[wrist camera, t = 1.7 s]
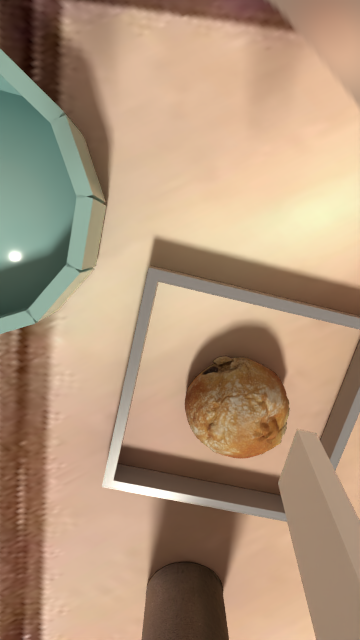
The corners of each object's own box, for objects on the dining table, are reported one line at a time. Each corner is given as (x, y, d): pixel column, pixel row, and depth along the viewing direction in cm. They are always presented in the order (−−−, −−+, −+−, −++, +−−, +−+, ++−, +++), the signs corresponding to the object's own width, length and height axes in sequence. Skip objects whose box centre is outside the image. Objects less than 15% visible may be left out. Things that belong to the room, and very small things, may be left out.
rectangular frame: (302, 507, 36) (311, 526, 33) (107, 469, 34) (102, 486, 32) (377, 320, 30) (395, 326, 28) (151, 265, 29) (148, 267, 26)
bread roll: (250, 339, 35) (249, 333, 27) (307, 419, 32) (324, 438, 24) (179, 386, 36) (158, 394, 28) (229, 467, 33) (221, 500, 26)
